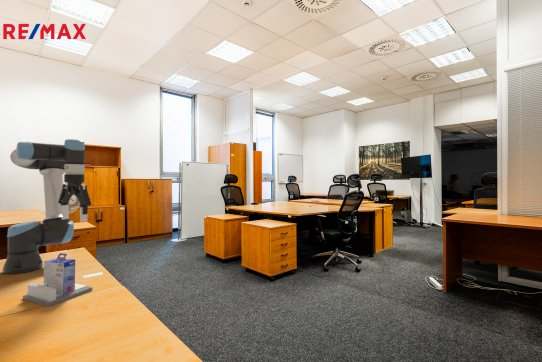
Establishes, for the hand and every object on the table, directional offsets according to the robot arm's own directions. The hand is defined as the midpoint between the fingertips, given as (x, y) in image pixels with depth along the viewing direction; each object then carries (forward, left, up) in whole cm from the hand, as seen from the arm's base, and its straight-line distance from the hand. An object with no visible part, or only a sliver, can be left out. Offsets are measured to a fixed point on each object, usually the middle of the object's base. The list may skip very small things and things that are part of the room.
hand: (74, 220), depth 127 cm
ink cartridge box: (+12, -13, -26) cm, 31 cm away
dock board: (+12, -13, -27) cm, 32 cm away
